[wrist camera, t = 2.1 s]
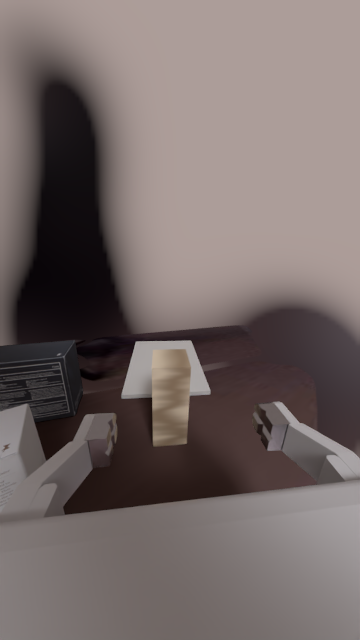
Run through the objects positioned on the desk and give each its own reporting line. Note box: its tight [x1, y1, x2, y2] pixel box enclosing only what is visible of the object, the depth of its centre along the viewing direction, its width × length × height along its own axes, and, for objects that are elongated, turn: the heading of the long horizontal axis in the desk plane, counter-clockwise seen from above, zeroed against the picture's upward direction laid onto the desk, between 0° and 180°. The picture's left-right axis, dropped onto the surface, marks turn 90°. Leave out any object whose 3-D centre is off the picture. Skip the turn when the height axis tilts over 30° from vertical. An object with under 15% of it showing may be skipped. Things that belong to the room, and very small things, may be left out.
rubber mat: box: [121, 341, 210, 399], centre depth 44 cm, size 16×22×1 cm
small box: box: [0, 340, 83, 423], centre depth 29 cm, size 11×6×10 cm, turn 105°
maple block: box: [152, 349, 191, 447], centre depth 25 cm, size 4×4×12 cm
